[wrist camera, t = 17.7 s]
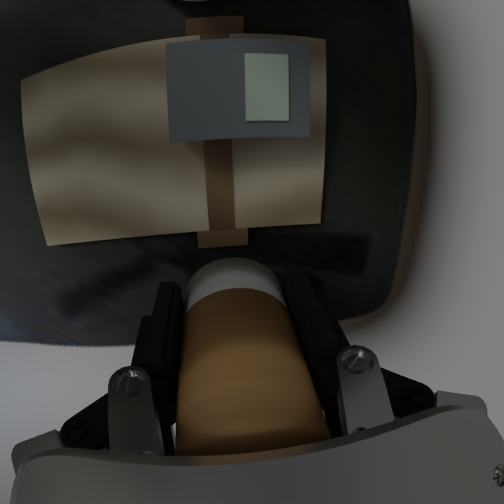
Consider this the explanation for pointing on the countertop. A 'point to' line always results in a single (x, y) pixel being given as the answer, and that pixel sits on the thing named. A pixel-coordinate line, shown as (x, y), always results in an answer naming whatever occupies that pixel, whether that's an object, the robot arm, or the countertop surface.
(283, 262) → the countertop surface
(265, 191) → the board
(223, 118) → the block
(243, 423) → the orange brown cylinder
